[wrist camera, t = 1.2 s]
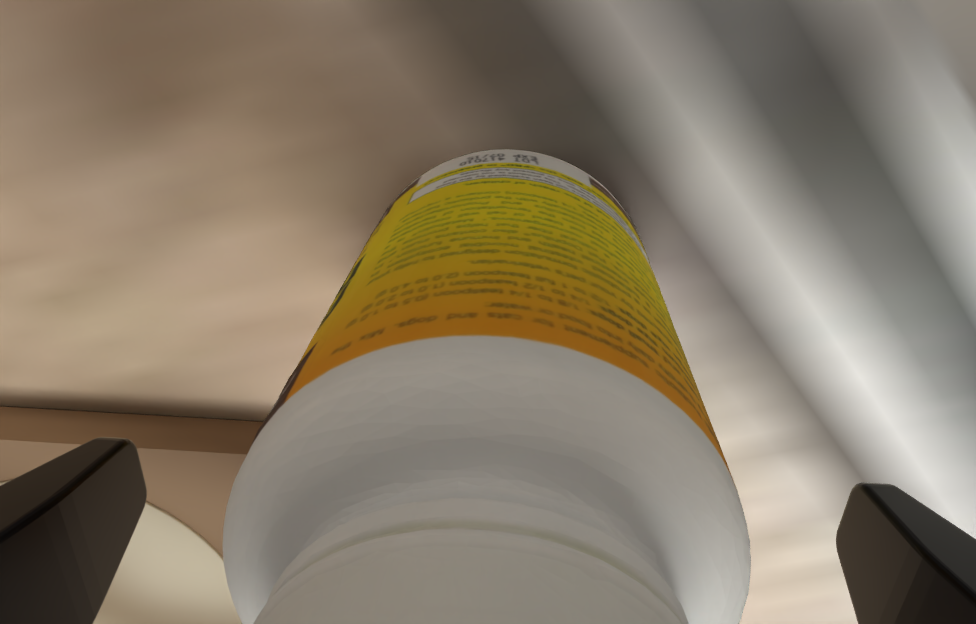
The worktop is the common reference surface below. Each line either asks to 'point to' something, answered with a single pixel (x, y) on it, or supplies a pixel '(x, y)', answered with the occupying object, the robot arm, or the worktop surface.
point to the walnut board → (152, 505)
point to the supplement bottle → (491, 427)
